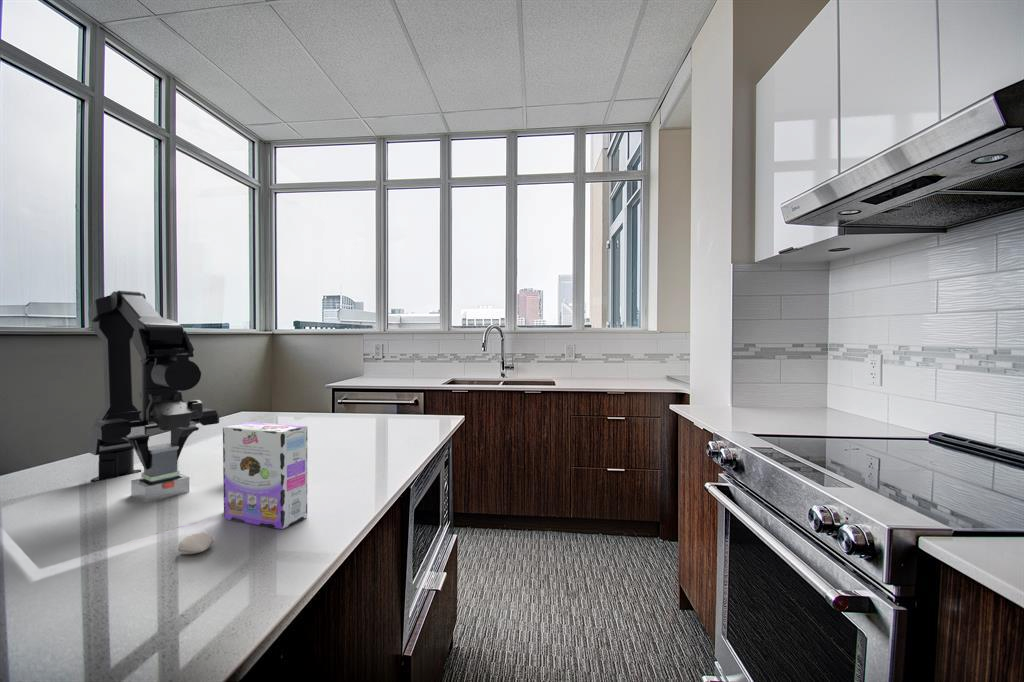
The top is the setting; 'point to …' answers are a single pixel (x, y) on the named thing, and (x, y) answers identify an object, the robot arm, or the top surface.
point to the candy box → (265, 473)
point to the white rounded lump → (195, 543)
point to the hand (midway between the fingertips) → (160, 466)
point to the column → (161, 464)
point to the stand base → (159, 489)
